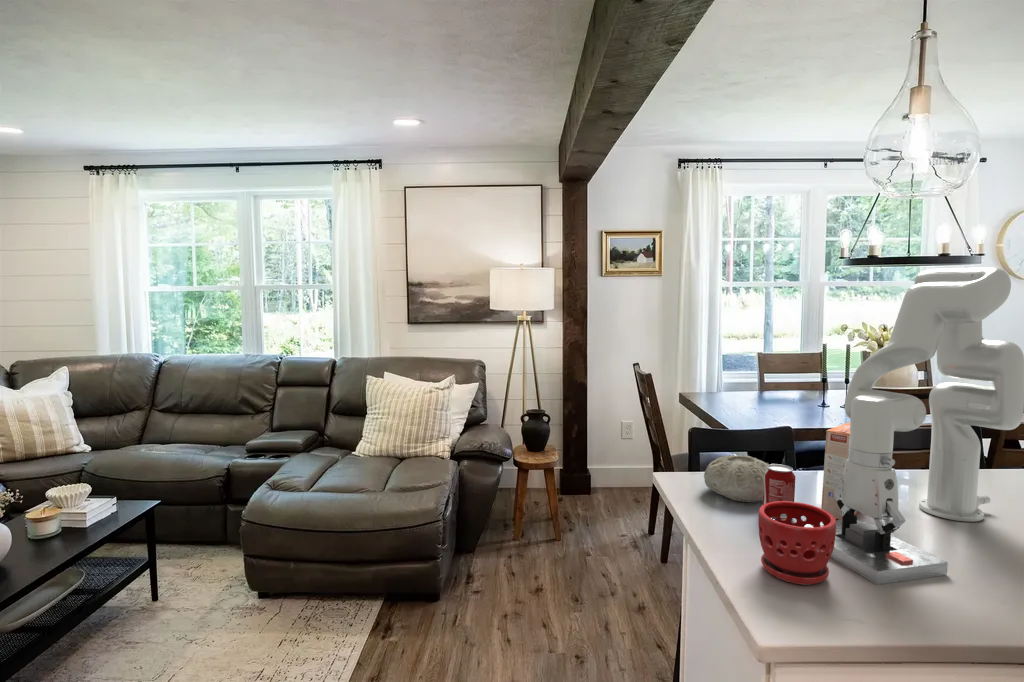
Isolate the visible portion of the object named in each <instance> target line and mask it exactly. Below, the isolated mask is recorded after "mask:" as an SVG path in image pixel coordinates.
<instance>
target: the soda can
mask: <svg viewBox="0 0 1024 682" xmlns="http://www.w3.org/2000/svg"><path fill="white" fill-rule="evenodd" d="M793 471H794V469H793V467H791V466H789V465H785V464H778V463H771V464H768V466H767V470H766V471H765V472H764V484H763V500H762V505H764V504H766V503H769V502H776V501H790V502H795V499H796V498H795V494H796V475H795V473H794V472H793ZM770 518H772V519H776V518H775V517H774V516H772V517H770ZM780 518H781V519H782V520H785V519H786V518H787V516H786V514H781V516H780Z"/></svg>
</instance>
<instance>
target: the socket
mask: <svg viewBox="0 0 1024 682" xmlns="http://www.w3.org/2000/svg"><path fill="white" fill-rule="evenodd" d="M835 520H836V535H835V543H834V549H833V552H832V555H831V558H830V559H832V558H833V559H832V560H833V561H835V560H836V561H835V562H837V561H838V562H837V563H839V564H841V565H842V564H843V565H842V566H845V567H846V568H848V569H850V570H851V571H853V572H855V573H857V574H858V575H860V576H861V577H863V578H864V579H867V580H869V581H870V582H871V583H873V584H875V585H877V586H878V585H884V584H892V583H899V582H905V581H906V582H907V581H913V580H919V579H920V580H921V579H927V578H934V577H942V576H948V567H949V566H948V565H949V562H948V561H946V560H944V559H942V558H940V557H938V556H935V555H934V554H931V553H929V552H927V551H925V550H924V549H921V548H918V547H916V546H914V545H913V544H910V543H908V542H907V541H906V542H905V541H904V540H901V539H899V538H897V537H895V536H894V535H891V541H890V551H885V552H876V553H867V552H865V551H863V550H861V549H860V548H858V547H856V546H854V545H852V544H850V543H848V542H846V541H845V536H844V535H842V520H837V519H835ZM858 523H864V522H863V521H861V520H859V519H857V524H858ZM820 526H821V527H822V526H824V525H823V523H822V522H821V523H820ZM804 527H813V526H812V525H809V524H807V525H805V526H804Z"/></svg>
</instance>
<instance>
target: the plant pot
mask: <svg viewBox="0 0 1024 682" xmlns="http://www.w3.org/2000/svg"><path fill="white" fill-rule="evenodd" d="M781 514H786V516H787V518H786V519H785V520H782V519H781V518H780V516H781ZM772 516H774V517H775V518H776V520H773V519H771V518H770V517H772ZM802 517H805V518H806V519H805V520H803V519H802ZM757 518H758V519H757V520H758V521H757V522H758V537H759V542H760V546H761V549H762V552H763V554H762V555H761V556H760V557H761V558H760V561H761V565H762V566H763V568H764V569H765V570H766V572H768V573H769V574H770V575H772V576H773V577H775V578H777V579H779V580H782V581H785V582H788V583H792V584H797V585H805V586H806V585H815V584H819V583H822V582H824V581H825V580H826V579H827V578H828V576H829V574H830V569H829V567H828V563H829V561H830V559H831V558H830V557H831V555H832V552H833V549H834V543H835V535H836V520H837V519H835V518H834V517H833V515H831V514H830V513H829V512H827V511H825V510H823V509H821V507H818V506H816V505H812V504H808V503H804V502H798V501H794V502H790V501H776V502H769V503H766V504H764V505H763V504H762V505H761V506H760V507H759V510H758V517H757ZM793 519H795V520H796V522H793V521H792V520H793ZM821 522H822V523H823V525H824V526H822V527H821V526H820V523H821ZM807 524H809V525H812V526H813V527H804V526H805V525H807Z"/></svg>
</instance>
